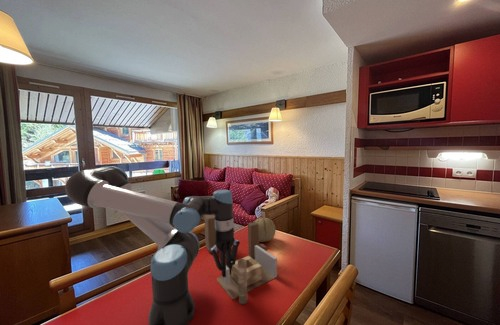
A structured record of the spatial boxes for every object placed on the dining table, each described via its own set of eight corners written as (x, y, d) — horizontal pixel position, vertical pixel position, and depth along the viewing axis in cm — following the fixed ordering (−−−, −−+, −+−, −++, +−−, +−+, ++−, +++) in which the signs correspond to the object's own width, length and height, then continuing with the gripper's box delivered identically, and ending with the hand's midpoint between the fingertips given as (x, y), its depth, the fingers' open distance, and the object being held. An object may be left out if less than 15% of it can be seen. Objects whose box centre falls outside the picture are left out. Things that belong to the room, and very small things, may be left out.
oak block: (242, 288, 85) (242, 274, 84) (230, 276, 93) (230, 262, 92) (261, 279, 90) (261, 265, 90) (249, 268, 99) (248, 255, 98)
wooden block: (263, 251, 115) (262, 220, 114) (267, 255, 111) (266, 223, 109) (248, 254, 112) (247, 222, 110) (251, 259, 108) (250, 225, 106)
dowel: (241, 305, 77) (240, 264, 75) (237, 300, 80) (236, 260, 78) (248, 301, 79) (247, 261, 77) (244, 296, 81) (243, 258, 80)
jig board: (232, 299, 80) (232, 299, 80) (215, 279, 92) (215, 278, 92) (278, 276, 93) (278, 275, 93) (258, 261, 106) (258, 260, 106)
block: (205, 246, 123) (203, 213, 121) (221, 242, 127) (220, 210, 125) (209, 253, 114) (207, 218, 112) (226, 249, 118) (225, 215, 116)
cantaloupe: (264, 249, 117) (263, 223, 116) (247, 240, 128) (246, 217, 127) (280, 240, 127) (280, 217, 126) (263, 233, 138) (263, 211, 137)
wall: (274, 278, 92) (274, 259, 91) (254, 262, 104) (254, 245, 103) (276, 277, 93) (276, 258, 92) (257, 261, 105) (256, 244, 104)
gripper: (213, 235, 77) (216, 294, 79) (242, 227, 84) (244, 281, 86) (205, 229, 83) (208, 284, 85) (233, 221, 91) (235, 272, 93)
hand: (226, 282), depth 86 cm, fingers closed
